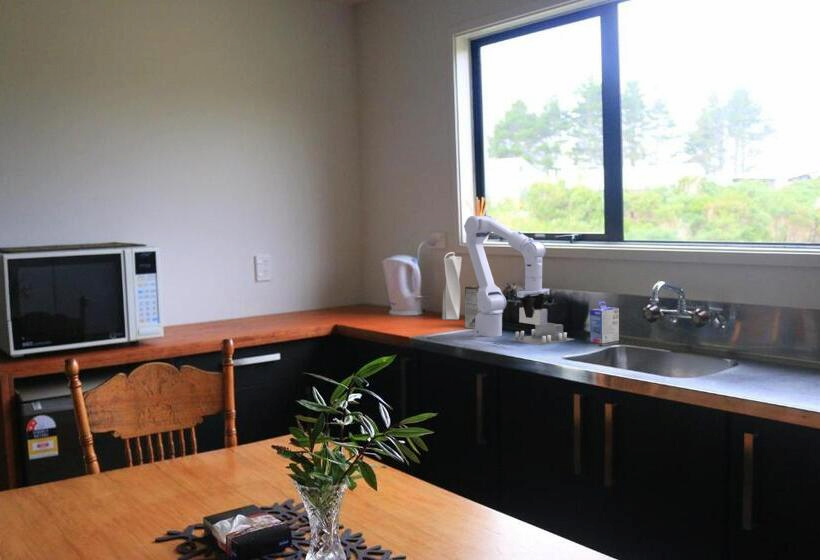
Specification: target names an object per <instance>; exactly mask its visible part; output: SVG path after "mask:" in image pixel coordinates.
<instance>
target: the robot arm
mask: <svg viewBox="0 0 820 560" xmlns="http://www.w3.org/2000/svg"><path fill="white" fill-rule="evenodd" d="M463 228H464V231H465V236H466V237H465V241H466V247H467V250H468V254H469V257H470V260H471V264H472V267H473V271H474V274H475V277H476V280H477V283H478V284H477V285H479V287H480V290H479V292H478V293H477V299H478V302H477V305H478V308H479V310H480V311H481V312H480V313H478V314H477V316H476V318H475V329H474V335H473V337H479V336H480V337H481V336H483V337H489V338H490V337H491V338H495V337H502V336H503V334H502V333H503V330H502V329H503V313H504V310H505V308H506V307H507V299H506V297H505V295H504V294H503V293H502V289H501V288H500V287H498V286H497V285H496V283H495V282H494V281H495V280H494V277H493V275H492V270H491V268H490V265H489V262H488V259H487V254H486V251H485V248H484V245H483V244H484V241H485V240H486V239H487V238H488V237H489V235H490V234H491V233H493V234H495V235H497V236H499V237H500V238H503V239H504V240H506V241H507V243H508V245H509V246H510V247H511V248H512V249H514V250H516V251H518V252H519V253H521V255H522V257H523V258H524V260H523V261H524V264H525V265H524V266H525V267H524V270H525V271H524V289H523V290H519V291H516V297H517V298H518V300H519V301H520V303H521V305H522V307H523V308H524V311H525V315H526V317H527V318H532V311H533V308H540V309H544V308H543V307H544V306H545V303H546V301H547V300H548V295H550V288H543V258H544V257H545V255H546V254H547V248H546V246H545V244H544V243H543V242H542V241H535V240H534V238H532V237H529V236H527V235H525V234H524V232H523V230H519V231H518V230H517V231H512V230H511V229H509V228H508V227H506V226H505V225H503V224H502V223H501V222H499V221H498V220H497V219H496V218H494V217H492V216H491V215H483V216H482V215H480V216H478V215H477V216H476V215H471V216H468V217H467V219H466V220H465V223H464V224H463Z"/></svg>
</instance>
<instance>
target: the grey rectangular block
mask: <svg viewBox="0 0 820 560" xmlns="http://www.w3.org/2000/svg"><path fill="white" fill-rule="evenodd" d="M518 311H519V313H518V314H519V316H518V317H519V319H518V323H520V324H521V323H523V324H530V325H534V326H535V325H544V324H547V323H548V309H547V308H543V309H540V308H534V307H533V311H532V318H527V317H526V315H525V311H524V308H523V306H522V307H519V310H518Z"/></svg>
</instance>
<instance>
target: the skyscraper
mask: <svg viewBox="0 0 820 560" xmlns="http://www.w3.org/2000/svg"><path fill="white" fill-rule="evenodd" d="M450 254H453V255H452V256H448V255H450ZM455 254H456V253H455V252H454V251H451V252H448V253H446V254H445V256H444V258H443V261H444V272H445V278H446V282H445V291H444V293H443V294H442V304H441V305H442V307H441V308H442V309H441V320H442V321H459V319H460V313H461V285H460V284H461V283H460V277H461V269H462V260H463V259H462V257H461V256H456V255H455ZM447 256H448V257H447Z"/></svg>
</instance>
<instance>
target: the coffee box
mask: <svg viewBox="0 0 820 560" xmlns="http://www.w3.org/2000/svg"><path fill="white" fill-rule="evenodd" d="M464 290H465V291H464V294H465V295H464V296H465V297H464V305H465V306H464V308H465V309H464V328H465V329H471V330H473V329H474V330H475V318H476V316H477V314H478V313H480V312H481V311H480V310H479V308H478V305H477V302H478V299H477V293H478V292H479V290H480V287H479V284H475V285H469V286H465V287H464Z"/></svg>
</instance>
